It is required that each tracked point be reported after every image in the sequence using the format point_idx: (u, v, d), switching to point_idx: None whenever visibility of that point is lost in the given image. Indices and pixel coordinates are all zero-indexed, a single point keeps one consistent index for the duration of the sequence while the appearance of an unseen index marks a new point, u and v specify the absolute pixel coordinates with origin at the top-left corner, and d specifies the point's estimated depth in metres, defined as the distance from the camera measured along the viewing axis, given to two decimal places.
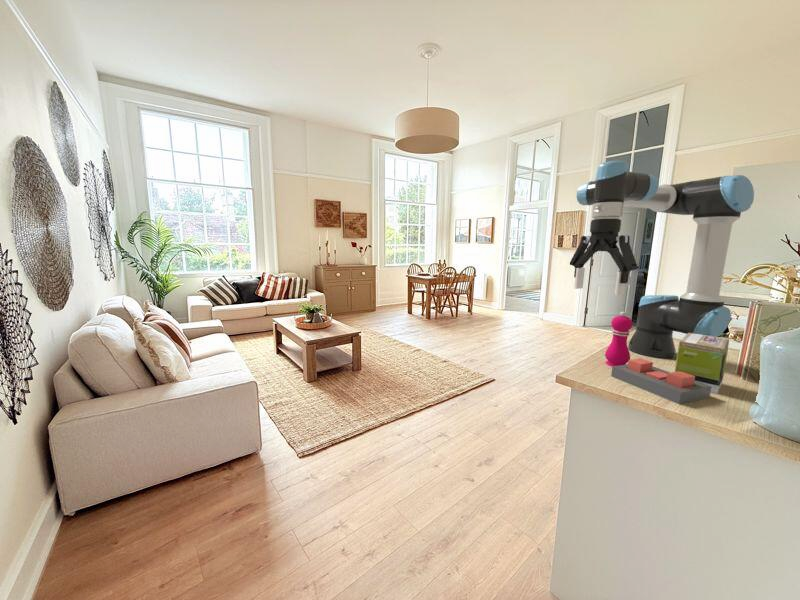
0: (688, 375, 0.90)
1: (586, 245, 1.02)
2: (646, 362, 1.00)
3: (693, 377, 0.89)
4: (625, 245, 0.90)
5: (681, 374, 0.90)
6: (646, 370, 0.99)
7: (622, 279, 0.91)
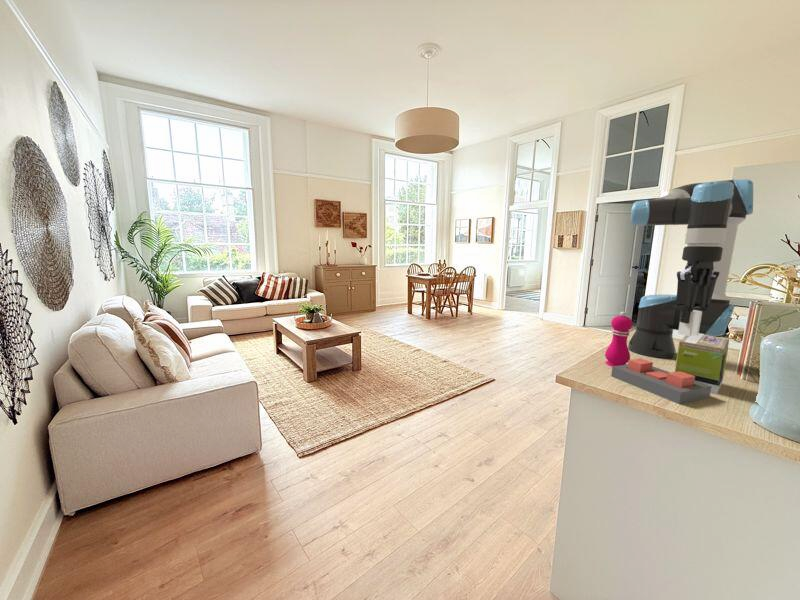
0: (688, 375, 0.90)
1: (710, 280, 0.87)
2: (646, 362, 1.00)
3: (693, 377, 0.89)
4: (680, 283, 0.85)
5: (681, 374, 0.90)
6: (646, 370, 0.99)
7: None
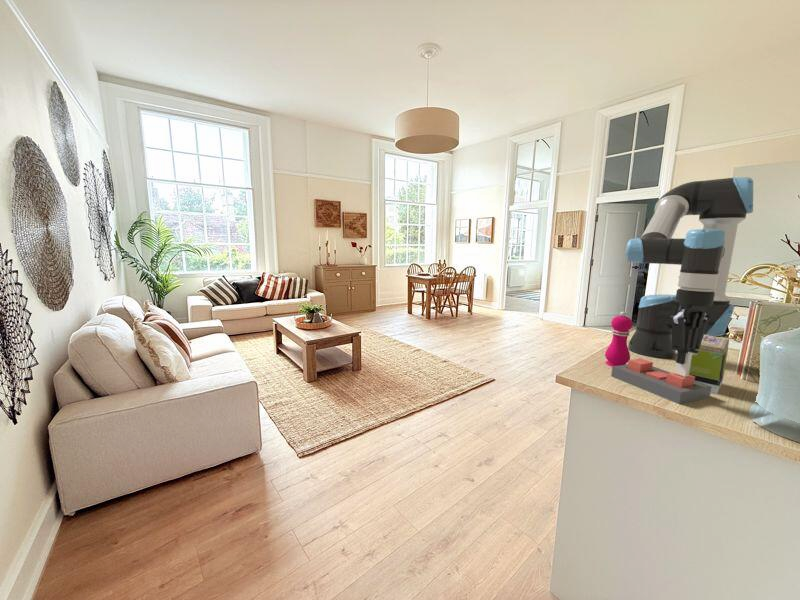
0: (688, 376, 0.90)
1: (701, 322, 0.89)
2: (646, 362, 1.00)
3: (693, 378, 0.89)
4: (674, 326, 0.87)
5: None
6: (646, 370, 0.99)
7: None
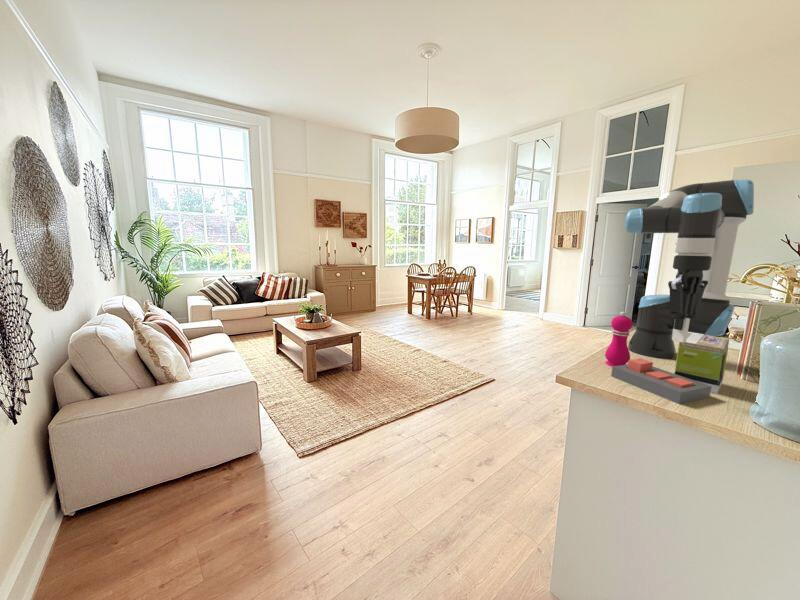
0: (687, 382, 0.90)
1: (698, 288, 0.89)
2: (646, 362, 1.00)
3: (692, 384, 0.90)
4: (672, 292, 0.87)
5: (680, 381, 0.91)
6: (646, 370, 0.99)
7: None
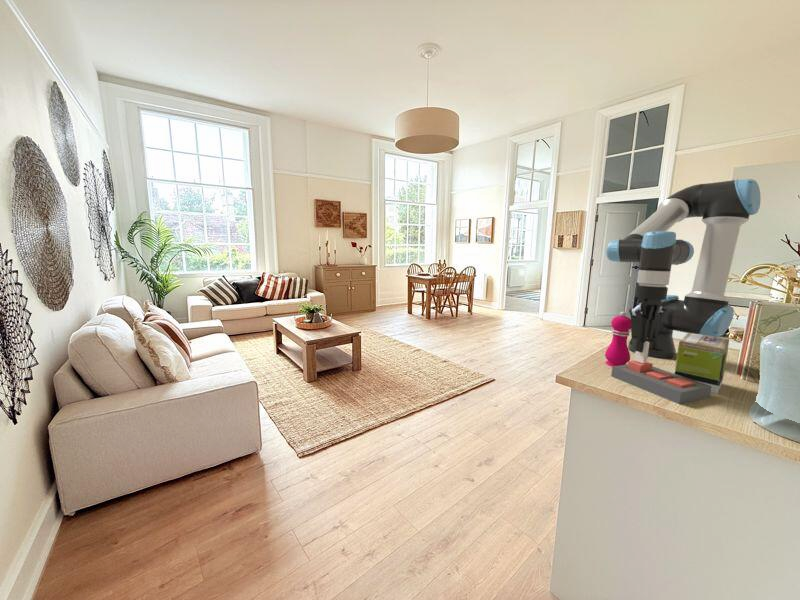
0: (687, 382, 0.90)
1: (658, 315, 0.99)
2: (646, 363, 1.00)
3: (692, 384, 0.90)
4: (632, 318, 0.97)
5: (680, 381, 0.91)
6: (646, 371, 0.99)
7: None
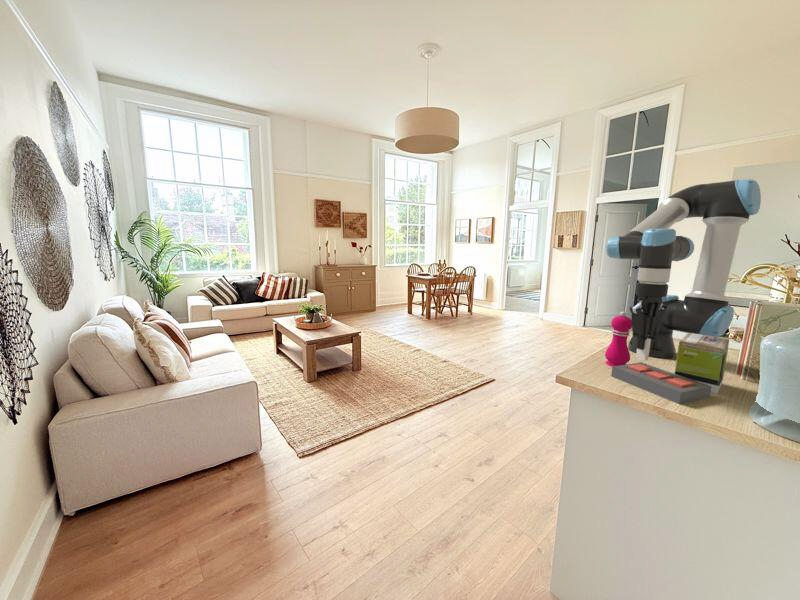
0: (687, 382, 0.90)
1: (659, 312, 0.99)
2: (645, 368, 1.00)
3: (692, 384, 0.90)
4: (633, 316, 0.97)
5: (680, 381, 0.91)
6: None
7: None
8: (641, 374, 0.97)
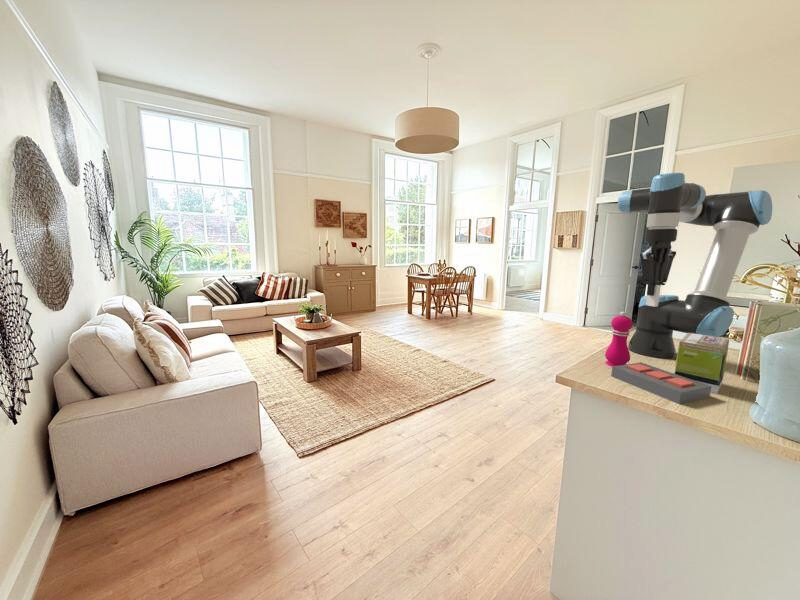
0: (687, 382, 0.90)
1: (668, 258, 1.01)
2: (645, 368, 1.00)
3: (692, 384, 0.90)
4: (643, 262, 0.99)
5: (680, 381, 0.91)
6: None
7: None
8: (641, 374, 0.97)
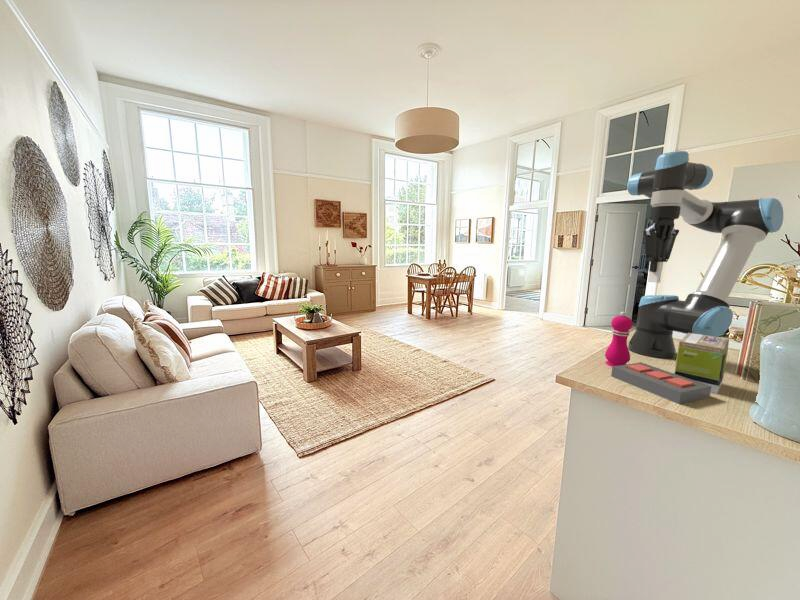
0: (687, 382, 0.90)
1: (671, 236, 1.04)
2: (645, 368, 1.00)
3: (692, 384, 0.90)
4: (647, 238, 1.02)
5: (680, 381, 0.91)
6: None
7: None
8: (641, 374, 0.97)
